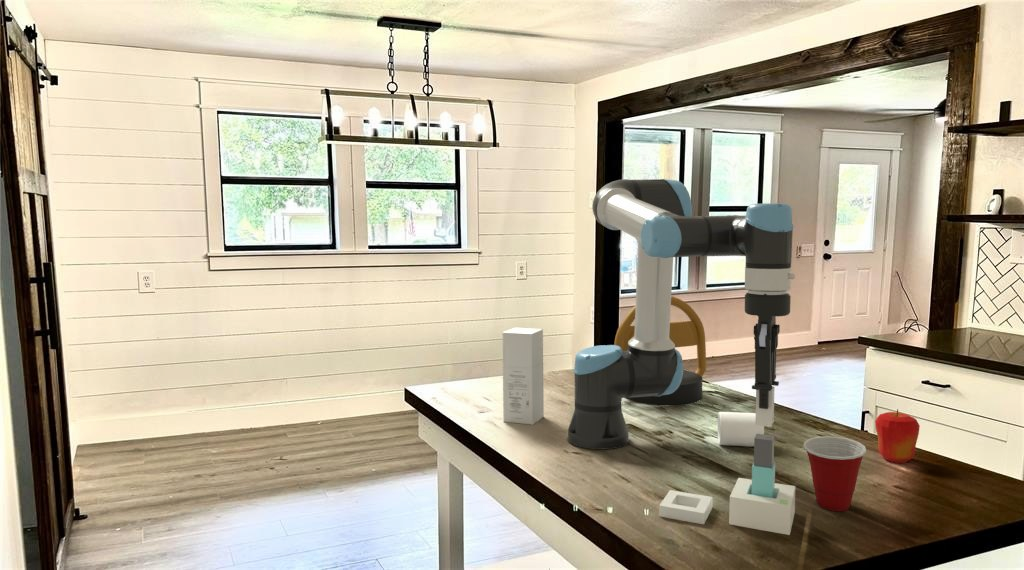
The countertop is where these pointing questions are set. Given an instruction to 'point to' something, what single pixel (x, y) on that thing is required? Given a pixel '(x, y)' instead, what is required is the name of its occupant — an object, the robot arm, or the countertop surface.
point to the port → (762, 508)
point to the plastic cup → (834, 470)
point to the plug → (763, 466)
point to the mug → (737, 428)
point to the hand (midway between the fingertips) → (764, 423)
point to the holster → (686, 507)
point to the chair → (681, 337)
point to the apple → (897, 436)
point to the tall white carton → (523, 375)
